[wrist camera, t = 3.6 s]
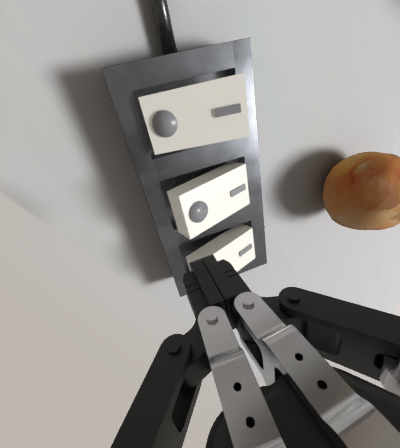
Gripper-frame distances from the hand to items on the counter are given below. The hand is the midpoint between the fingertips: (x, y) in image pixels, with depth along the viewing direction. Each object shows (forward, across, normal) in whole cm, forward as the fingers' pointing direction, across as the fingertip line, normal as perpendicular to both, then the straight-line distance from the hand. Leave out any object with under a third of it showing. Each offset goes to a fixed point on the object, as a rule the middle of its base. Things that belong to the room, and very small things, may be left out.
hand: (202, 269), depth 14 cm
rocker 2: (+10, -4, +8) cm, 13 cm away
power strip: (+15, -4, -4) cm, 16 cm away
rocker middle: (+10, -4, 0) cm, 10 cm away
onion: (+15, -24, +6) cm, 29 cm away
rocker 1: (+10, -4, -7) cm, 13 cm away
